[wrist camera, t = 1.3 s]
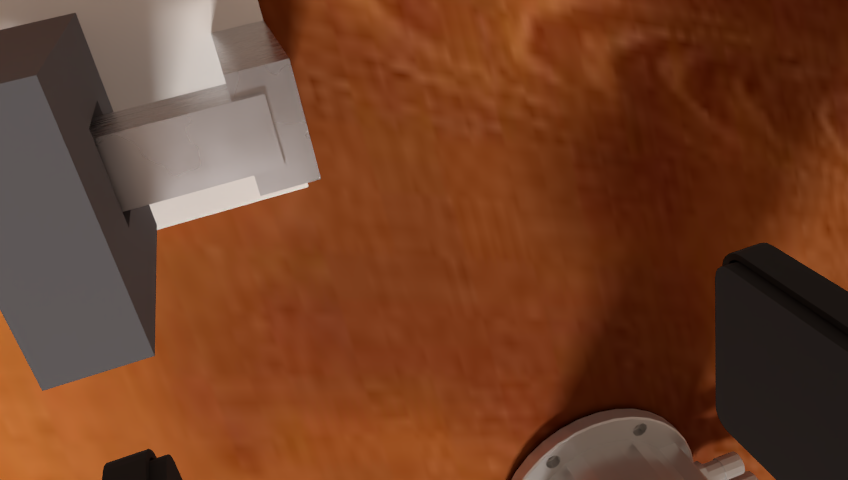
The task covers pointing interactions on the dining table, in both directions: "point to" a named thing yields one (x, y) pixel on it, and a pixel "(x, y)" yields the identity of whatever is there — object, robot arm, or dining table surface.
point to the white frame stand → (213, 129)
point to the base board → (156, 68)
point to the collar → (66, 215)
